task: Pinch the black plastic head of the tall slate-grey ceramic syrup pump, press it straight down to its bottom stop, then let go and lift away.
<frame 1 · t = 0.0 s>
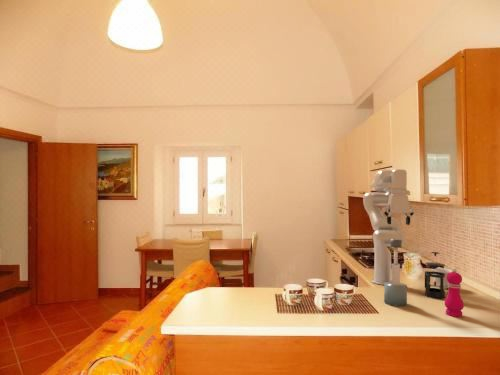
hand: (398, 224, 184), 37 cm above the worktop, tool pointing down, fingers open, 9 cm apart
syrup pump bottle: (395, 303, 165), on the worktop
pepper mill: (453, 315, 150), on the worktop
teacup: (442, 287, 200), on the worktop
pump head: (395, 252, 167), point 24 cm above the worktop, slide at 0.0 cm
french press: (434, 296, 180), on the worktop
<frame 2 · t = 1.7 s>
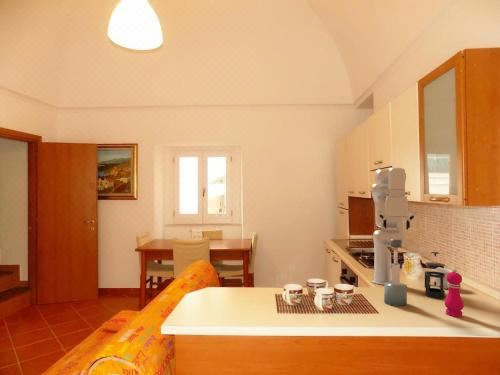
hand: (396, 228, 166), 36 cm above the worktop, tool pointing down, fingers open, 9 cm apart
nothing on the worktop moved.
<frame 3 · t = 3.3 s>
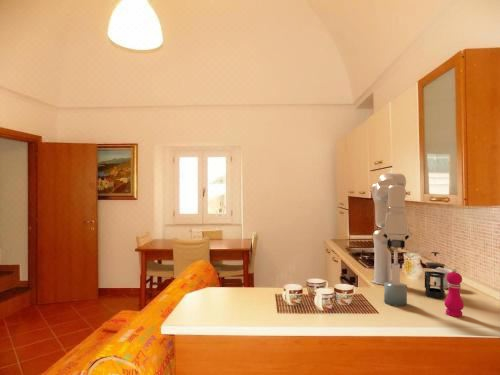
hand: (395, 248, 166), 26 cm above the worktop, tool pointing down, fingers closed on pump head, 5 cm apart
pump head: (395, 252, 167), point 24 cm above the worktop, slide at 0.0 cm, touching gripper
everything else where it was.
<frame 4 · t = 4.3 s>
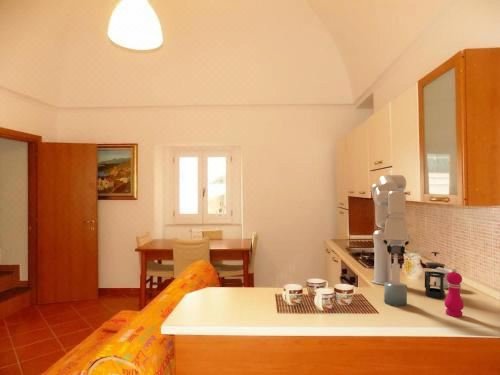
hand: (395, 253, 166), 24 cm above the worktop, tool pointing down, fingers closed on pump head, 5 cm apart
pump head: (395, 258, 167), point 21 cm above the worktop, slide at 2.8 cm, touching gripper
everything else where it was.
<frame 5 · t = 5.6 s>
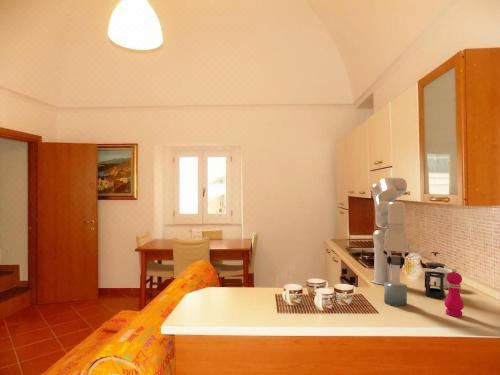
hand: (395, 265, 166), 18 cm above the worktop, tool pointing down, fingers closed on pump head, 5 cm apart
pump head: (395, 269, 167), point 16 cm above the worktop, slide at 8.1 cm, touching gripper
everything else where it was.
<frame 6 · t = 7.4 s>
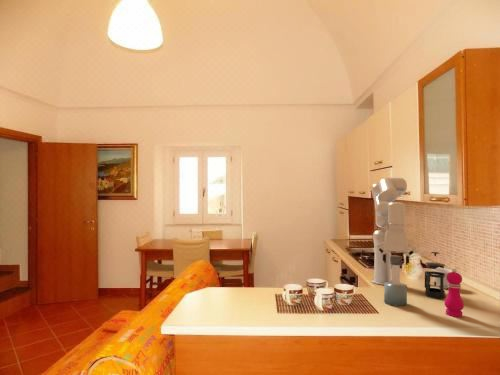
hand: (395, 263, 166), 19 cm above the worktop, tool pointing down, fingers open, 9 cm apart
pump head: (395, 269, 167), point 16 cm above the worktop, slide at 8.1 cm
everything else where it was.
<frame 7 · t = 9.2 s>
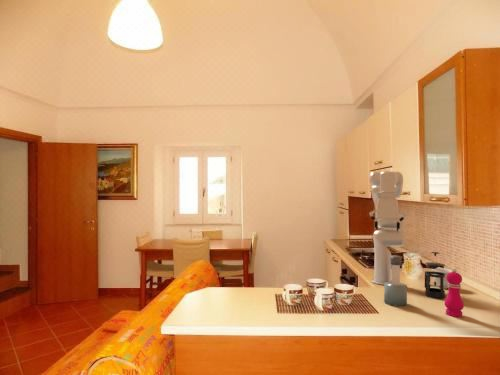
hand: (387, 229, 173), 35 cm above the worktop, tool pointing down, fingers open, 9 cm apart
nothing on the worktop moved.
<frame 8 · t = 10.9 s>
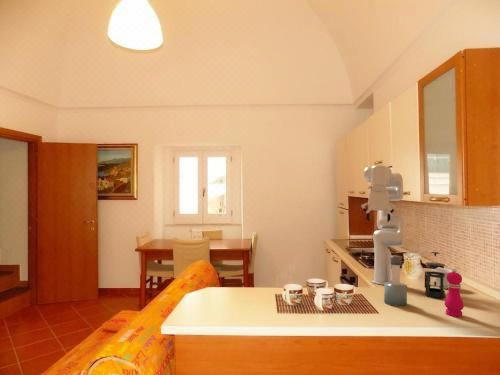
hand: (378, 221, 180), 38 cm above the worktop, tool pointing down, fingers open, 9 cm apart
nothing on the worktop moved.
at the end: pump head slide at 8.1 cm; the gripper is holding nothing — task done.
